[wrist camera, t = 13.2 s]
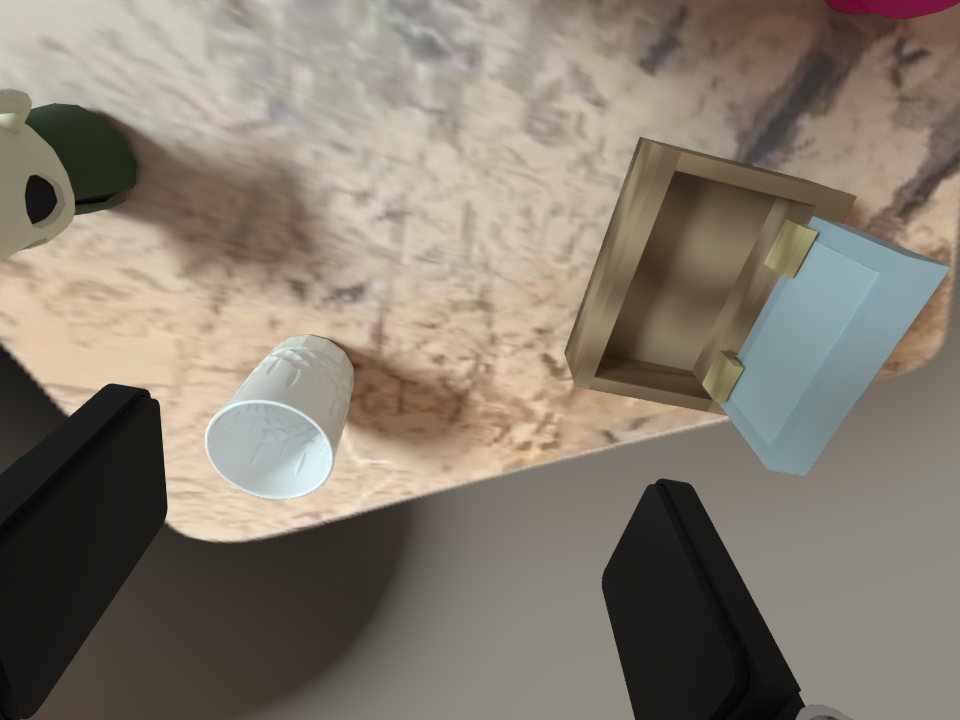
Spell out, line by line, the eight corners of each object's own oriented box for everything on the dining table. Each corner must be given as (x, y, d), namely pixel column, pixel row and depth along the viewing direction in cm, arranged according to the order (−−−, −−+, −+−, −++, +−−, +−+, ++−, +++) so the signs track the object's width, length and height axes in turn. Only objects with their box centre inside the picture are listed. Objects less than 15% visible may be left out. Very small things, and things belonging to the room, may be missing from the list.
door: (810, 215, 31) (903, 255, 24) (849, 225, 31) (951, 267, 24) (712, 397, 37) (765, 468, 30) (745, 404, 37) (804, 476, 30)
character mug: (107, 254, 37) (-56, 338, 25) (0, 183, 34) (-234, 240, 23) (182, 129, 33) (29, 162, 21) (68, 39, 30) (-172, 21, 19)
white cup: (372, 342, 40) (344, 419, 32) (352, 422, 44) (322, 510, 35) (267, 314, 39) (208, 385, 30) (256, 399, 43) (200, 484, 34)
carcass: (639, 137, 33) (679, 153, 27) (827, 185, 35) (905, 210, 29) (564, 352, 41) (581, 404, 35) (721, 384, 43) (765, 438, 36)
